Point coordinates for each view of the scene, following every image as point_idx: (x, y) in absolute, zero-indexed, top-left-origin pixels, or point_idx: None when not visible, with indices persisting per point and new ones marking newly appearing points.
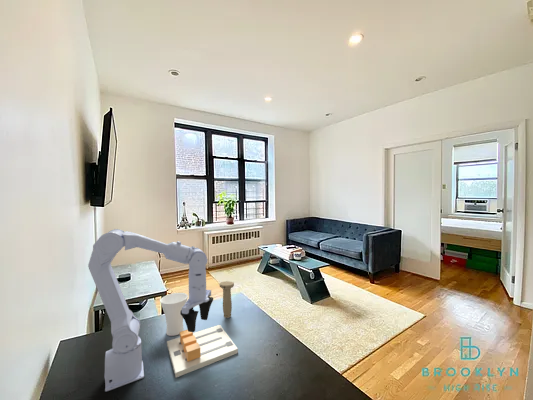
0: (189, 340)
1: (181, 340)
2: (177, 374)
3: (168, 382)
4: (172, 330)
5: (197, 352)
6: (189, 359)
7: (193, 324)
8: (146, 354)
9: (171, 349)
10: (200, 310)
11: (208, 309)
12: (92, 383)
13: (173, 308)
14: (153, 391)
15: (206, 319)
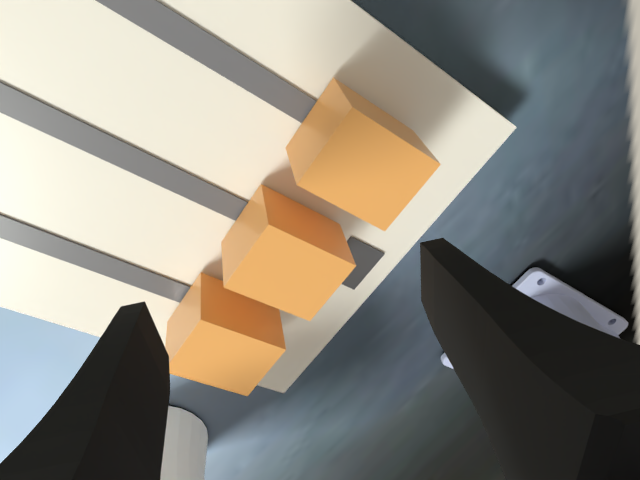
0: (304, 263)
1: (281, 325)
2: (500, 114)
3: (539, 124)
4: (194, 447)
5: (365, 107)
6: (407, 128)
7: (519, 291)
8: (382, 387)
9: (335, 317)
10: (158, 470)
11: (88, 410)
12: None
13: None
14: (606, 146)
15: (140, 305)
